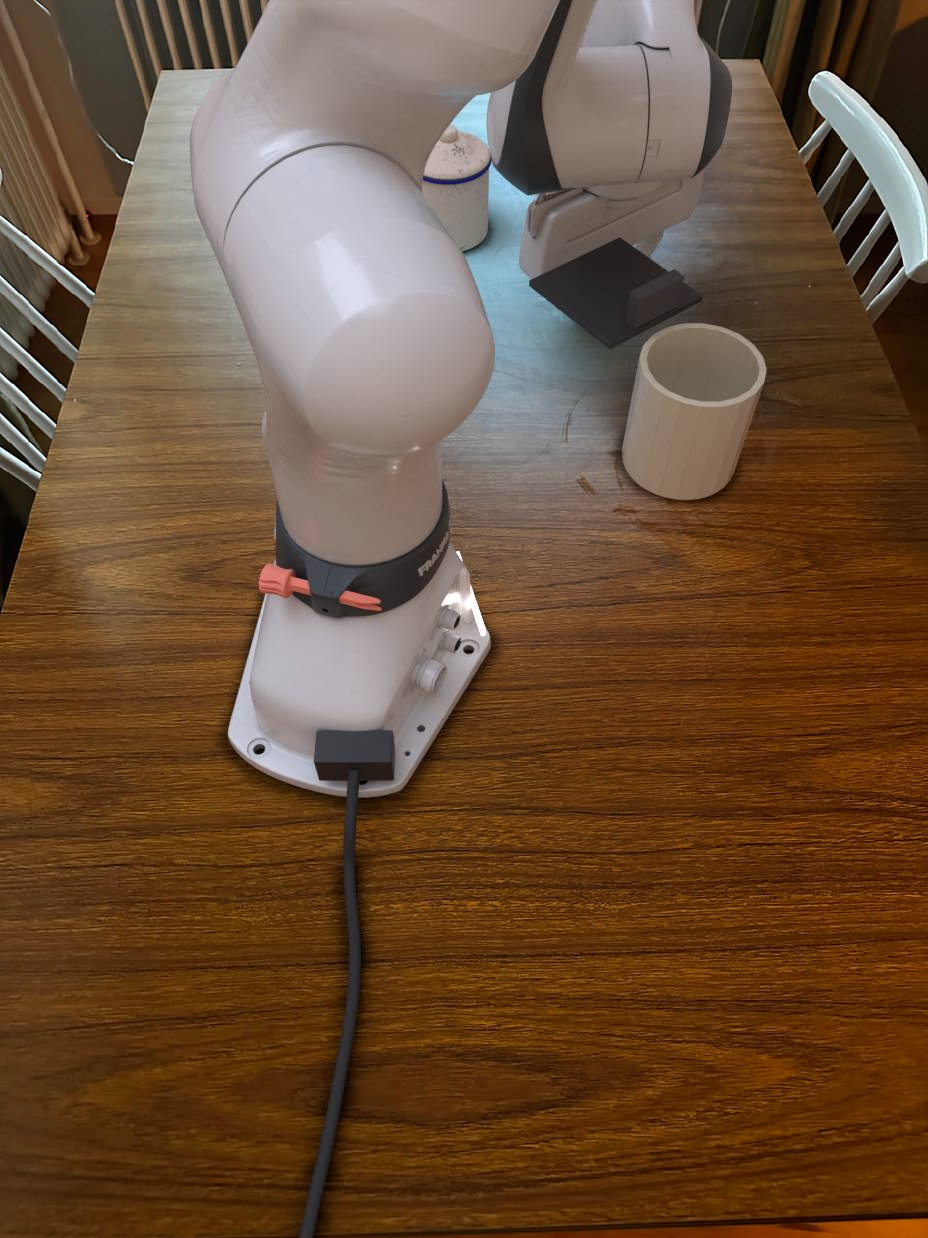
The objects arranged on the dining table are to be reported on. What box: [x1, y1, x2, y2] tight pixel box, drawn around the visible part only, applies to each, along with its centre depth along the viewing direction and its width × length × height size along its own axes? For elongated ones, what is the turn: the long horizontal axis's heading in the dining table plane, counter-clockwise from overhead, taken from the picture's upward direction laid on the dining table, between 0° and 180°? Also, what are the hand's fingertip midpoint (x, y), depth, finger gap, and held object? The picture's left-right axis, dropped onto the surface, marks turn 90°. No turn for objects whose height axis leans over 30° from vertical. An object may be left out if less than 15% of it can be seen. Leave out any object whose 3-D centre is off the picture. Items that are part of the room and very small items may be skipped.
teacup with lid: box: [422, 124, 492, 252], centre depth 102 cm, size 12×9×12 cm
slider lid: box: [528, 237, 704, 350], centre depth 81 cm, size 11×11×4 cm
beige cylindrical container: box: [621, 322, 768, 501], centre depth 82 cm, size 10×10×11 cm
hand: (603, 285), depth 97 cm, fingers open, 8 cm apart
